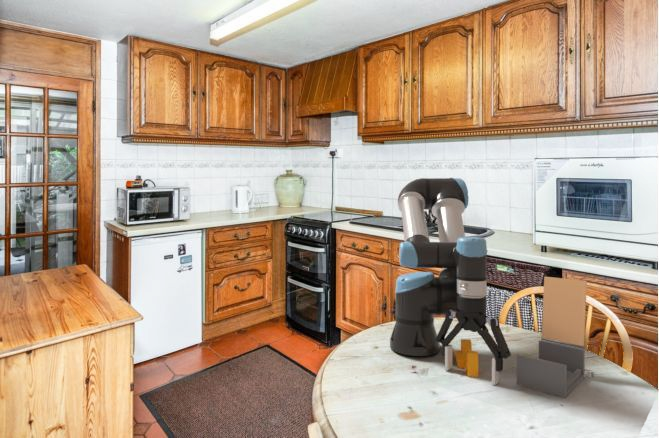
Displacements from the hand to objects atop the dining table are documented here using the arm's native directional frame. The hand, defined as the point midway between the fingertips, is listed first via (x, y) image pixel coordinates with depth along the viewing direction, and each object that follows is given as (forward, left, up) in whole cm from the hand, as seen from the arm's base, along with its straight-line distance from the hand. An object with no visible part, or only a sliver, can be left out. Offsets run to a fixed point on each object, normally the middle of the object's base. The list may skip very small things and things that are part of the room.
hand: (471, 375), depth 108 cm
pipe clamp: (-4, +5, -1) cm, 6 cm away
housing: (+16, +12, 0) cm, 20 cm away
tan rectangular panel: (+16, +21, +8) cm, 28 cm away
